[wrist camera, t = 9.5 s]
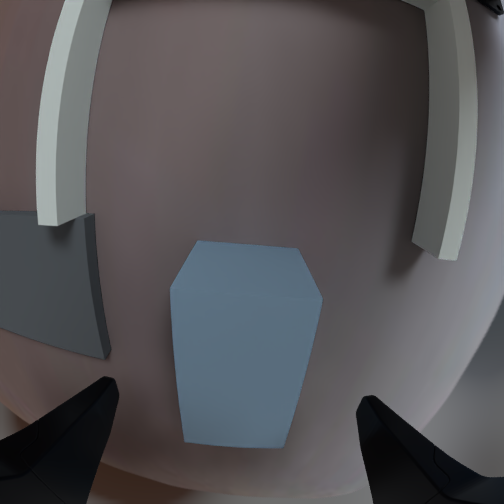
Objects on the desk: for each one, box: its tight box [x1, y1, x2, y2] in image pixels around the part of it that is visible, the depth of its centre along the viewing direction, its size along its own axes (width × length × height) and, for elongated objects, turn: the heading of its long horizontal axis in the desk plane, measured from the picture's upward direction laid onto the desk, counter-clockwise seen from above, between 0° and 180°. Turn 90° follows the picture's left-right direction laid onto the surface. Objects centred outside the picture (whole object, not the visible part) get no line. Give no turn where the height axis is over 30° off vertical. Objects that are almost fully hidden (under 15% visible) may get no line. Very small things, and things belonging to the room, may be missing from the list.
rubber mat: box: [0, 211, 111, 360], centre depth 13 cm, size 11×8×1 cm
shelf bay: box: [36, 0, 478, 261], centre depth 9 cm, size 18×14×2 cm
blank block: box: [170, 241, 323, 448], centre depth 12 cm, size 4×8×5 cm, turn 175°
